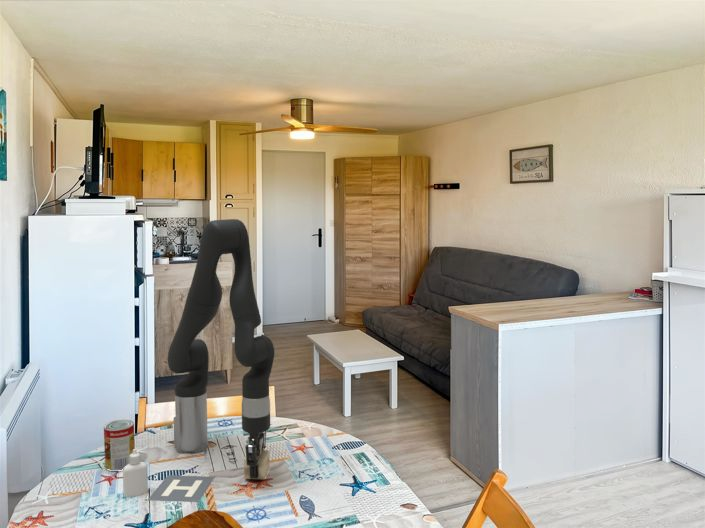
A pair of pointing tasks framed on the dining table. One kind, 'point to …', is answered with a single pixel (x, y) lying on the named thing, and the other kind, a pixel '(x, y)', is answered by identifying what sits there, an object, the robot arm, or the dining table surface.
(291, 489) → the dining table surface
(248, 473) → the maple block
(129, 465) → the eye dropper bottle
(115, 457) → the canned food
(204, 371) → the robot arm
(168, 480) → the letter board
